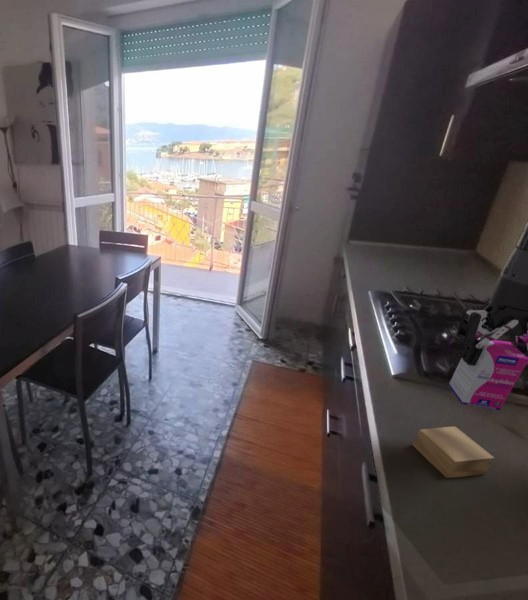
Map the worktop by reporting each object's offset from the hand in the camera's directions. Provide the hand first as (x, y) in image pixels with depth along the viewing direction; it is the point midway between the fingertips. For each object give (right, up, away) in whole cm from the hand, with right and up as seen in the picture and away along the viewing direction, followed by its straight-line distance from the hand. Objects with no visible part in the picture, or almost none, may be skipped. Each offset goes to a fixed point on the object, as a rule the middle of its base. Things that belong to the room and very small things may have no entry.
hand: (490, 364), depth 63 cm
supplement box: (0, -7, +3) cm, 8 cm away
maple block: (-1, -21, +8) cm, 22 cm away
